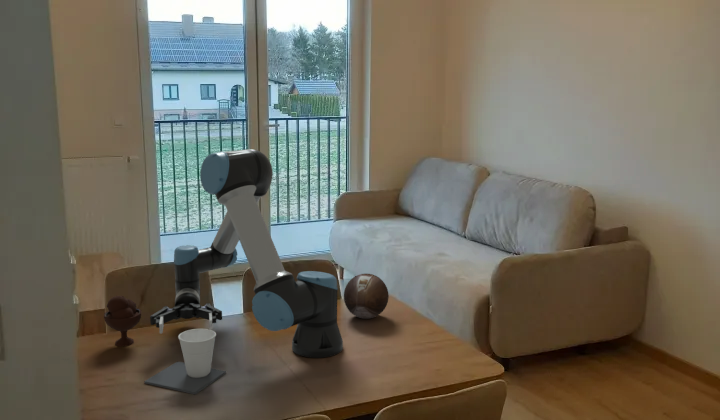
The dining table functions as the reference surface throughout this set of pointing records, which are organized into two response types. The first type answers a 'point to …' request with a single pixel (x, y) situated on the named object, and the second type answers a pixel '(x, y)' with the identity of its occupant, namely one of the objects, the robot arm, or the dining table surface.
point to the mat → (183, 379)
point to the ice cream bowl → (122, 317)
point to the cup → (197, 351)
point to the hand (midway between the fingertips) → (186, 326)
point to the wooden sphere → (366, 296)
